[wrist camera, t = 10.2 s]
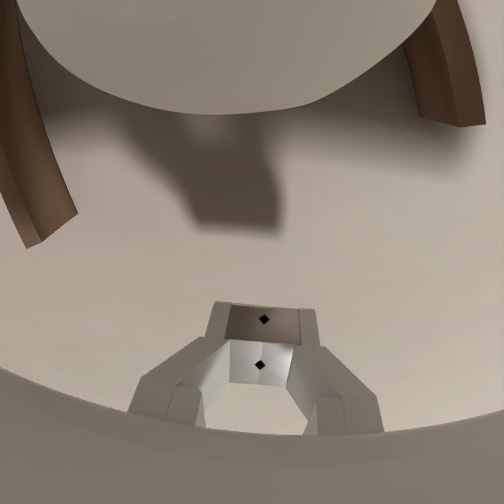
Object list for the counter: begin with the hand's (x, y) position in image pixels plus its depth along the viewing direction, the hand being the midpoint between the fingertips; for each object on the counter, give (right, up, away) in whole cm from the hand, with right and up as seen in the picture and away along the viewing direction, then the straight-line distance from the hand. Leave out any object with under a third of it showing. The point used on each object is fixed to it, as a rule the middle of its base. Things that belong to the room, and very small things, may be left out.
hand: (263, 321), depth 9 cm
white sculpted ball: (-1, +10, -2) cm, 10 cm away
